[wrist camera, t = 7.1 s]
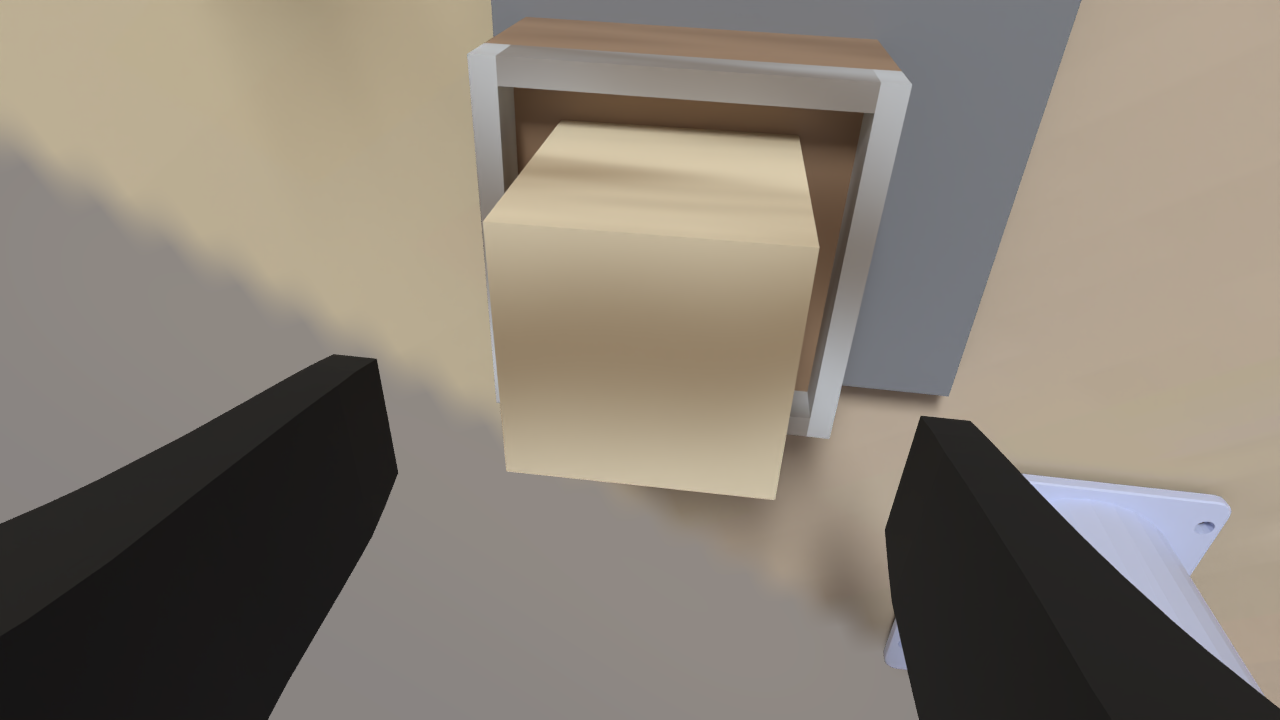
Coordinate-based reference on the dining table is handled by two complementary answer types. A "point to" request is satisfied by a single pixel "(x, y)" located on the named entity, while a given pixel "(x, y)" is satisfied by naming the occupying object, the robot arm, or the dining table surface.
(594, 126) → the maple block
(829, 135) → the walnut plinth
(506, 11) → the board
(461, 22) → the dining table surface
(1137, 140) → the dining table surface
